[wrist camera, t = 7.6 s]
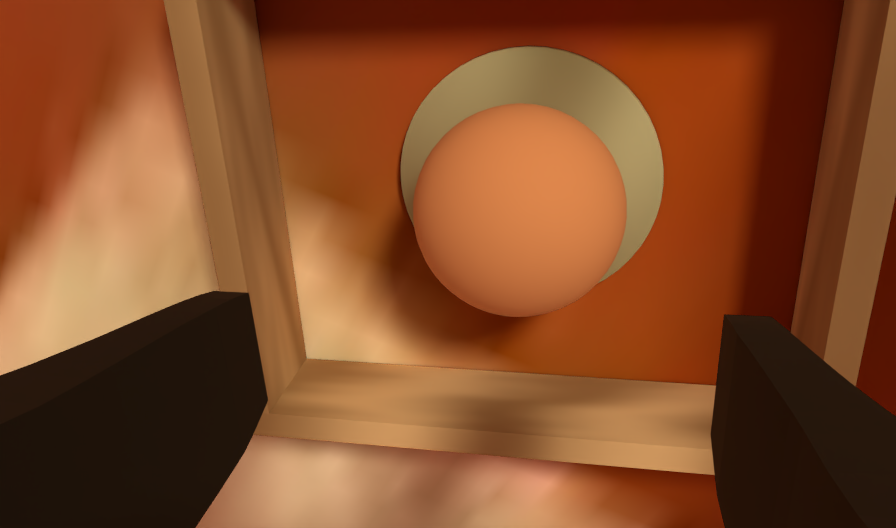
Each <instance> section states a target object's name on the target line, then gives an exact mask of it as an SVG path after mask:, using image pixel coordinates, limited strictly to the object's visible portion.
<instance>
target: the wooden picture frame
mask: <svg viewBox="0 0 896 528" xmlns="http://www.w3.org/2000/svg"><path fill="white" fill-rule="evenodd" d="M164 4H165V10H166V15H167V20H168V25H169V30H170V35H171V41H172V46H173V51H174V56H175V61H176V66H177V72H178V77H179V82H180V87H181V92H182V97H183V103H184V108H185V113H186V118H187V123H188V129H189V134H190V139H191V144H192V149H193V154H194V160H195V165H196V170H197V175H198V180H199V185H200V191H201V196H202V201H203V206H204V211H205V216H206V222H207V227H208V232H209V237H210V242H211V248H212V253H213V258H214V263H215V268H216V273H217V279H218V284H219V289H220V291H224V292H245V293H249V296H250V302H251V307H252V313H253V318H254V324H255V329H256V335H257V341H258V346H259V352H260V357H261V363H262V368H263V374H264V380H265V385H266V391H267V396H268V402H267V404H266V407H265V409H264V411H263V413H262V416H261V418H260V420H259V423H258V425H257V427H256V430H255V432H254V434H253V435H265V436H276V437H287V438H299V439H310V440H321V441H333V442H344V443H356V444H367V445H378V446H390V447H401V448H413V449H424V450H435V451H447V452H458V453H470V454H481V455H492V456H504V457H515V458H526V459H538V460H549V461H561V462H572V463H583V464H595V465H606V466H618V467H629V468H640V469H652V470H663V471H675V472H686V473H697V474H709V475H715V473H714V464H713V454H712V444H711V425H712V416H713V408H714V399H715V390H716V386H714V385H698V384H683V383H668V382H653V381H637V380H622V379H607V378H592V377H576V376H561V375H546V374H531V373H515V372H500V371H485V370H470V369H455V368H439V367H424V366H409V365H394V364H378V363H363V362H348V361H333V360H317V359H306V352H305V345H304V338H303V331H302V324H301V318H300V311H299V304H298V297H297V290H296V283H295V277H294V270H293V263H292V256H291V249H290V242H289V236H288V229H287V222H286V215H285V208H284V201H283V194H282V188H281V181H280V174H279V167H278V160H277V153H276V147H275V140H274V133H273V126H272V119H271V112H270V106H269V99H268V92H267V85H266V78H265V71H264V64H263V58H262V51H261V44H260V37H259V30H258V23H257V17H256V10H255V3H254V0H164ZM517 103H523V104H536V105H541V106H546V107H550V108H553V109H556V110H559V111H561V112H564V113H566V114H568V115H570V116H572V117H574V118H575V119H577V120H578V121H580V122H581V123H583V124H584V125H586V126H587V127H588V128H589V129H590V130H591V131H593V132H594V133H595V134H596V135H597V136H598V137H599V138H600V140H601V141H602V142H603V143H604V144H605V145H606V147H607V148H608V150H609V151H610V153H611V154H612V156H613V158H614V160H615V162H616V164H617V166H618V168H619V171H620V173H621V176H622V180H623V183H624V186H625V193H626V199H627V219H626V226H625V232H624V236H623V239H622V243H621V246H620V248H619V251H618V253H617V255H616V257H615V260H614V261H613V263H612V265H611V266H610V268H609V269H608V271H607V272H606V274H605V275H604V276H603V277H602V278H601V280H600V281H599V282H601V281H603V280H605V279H606V278H608V277H609V276H610V275H612V274H613V273H615V272H616V271H617V270H619V269H620V268H621V267H622V266H623V265H624V264H625V263H626V262H627V261H628V260H630V259H631V257H632V256H633V255H634V254H635V253H636V251H637V250H638V249H639V248H640V247H641V245H642V243H643V242H644V240H645V239H646V237H647V235H648V234H649V232H650V230H651V228H652V226H653V223H654V221H655V219H656V216H657V213H658V210H659V206H660V203H661V197H662V191H663V161H662V154H661V148H660V144H659V141H658V137H657V134H656V130H655V128H654V126H653V124H652V122H651V119H650V117H649V115H648V113H647V112H646V110H645V108H644V107H643V105H642V104H641V102H640V101H639V99H638V98H637V97H636V96H635V94H634V93H633V92H632V91H631V90H630V89H629V87H628V86H627V85H626V84H625V83H623V82H622V81H621V80H620V79H619V78H618V77H617V76H616V75H614V74H613V73H612V72H610V71H609V70H607V69H606V68H604V67H603V66H601V65H600V64H598V63H596V62H594V61H592V60H590V59H588V58H586V57H584V56H582V55H579V54H576V53H573V52H569V51H566V50H562V49H557V48H552V47H545V46H519V47H509V48H505V49H500V50H496V51H492V52H489V53H487V54H484V55H481V56H478V57H476V58H474V59H472V60H470V61H468V62H467V63H465V64H463V65H461V66H459V67H458V68H457V69H455V70H454V71H453V72H451V73H450V74H448V75H447V76H446V77H445V78H444V79H443V80H442V81H441V82H440V83H439V84H438V85H437V86H436V87H434V88H433V89H432V91H431V92H430V93H429V94H428V96H427V97H426V98H425V99H424V101H423V102H422V103H421V105H420V107H419V108H418V110H417V112H416V113H415V115H414V117H413V119H412V121H411V124H410V126H409V129H408V131H407V134H406V138H405V141H404V145H403V149H402V158H401V185H402V192H403V198H404V201H405V205H406V208H407V212H408V214H409V216H410V219H411V221H412V224H413V226H414V221H413V200H414V193H415V188H416V184H417V181H418V177H419V174H420V172H421V169H422V167H423V165H424V163H425V160H426V159H427V157H428V155H429V154H430V152H431V151H432V149H433V148H434V147H435V145H436V144H437V143H438V142H439V141H440V139H441V138H442V137H443V136H444V135H445V134H446V133H447V132H448V131H449V130H451V129H452V128H453V127H454V126H455V125H457V124H458V123H460V122H461V121H463V120H464V119H465V118H467V117H469V116H471V115H473V114H475V113H477V112H480V111H483V110H486V109H489V108H492V107H496V106H501V105H505V104H517ZM895 196H896V0H844V5H843V11H842V18H841V24H840V30H839V36H838V42H837V49H836V55H835V61H834V67H833V73H832V80H831V86H830V92H829V98H828V104H827V111H826V117H825V123H824V129H823V135H822V141H821V148H820V154H819V160H818V166H817V172H816V179H815V185H814V191H813V197H812V203H811V210H810V216H809V222H808V228H807V234H806V241H805V247H804V253H803V259H802V265H801V272H800V278H799V284H798V290H797V296H796V303H795V309H794V315H793V321H792V327H791V333H792V334H793V335H794V336H795V337H796V338H798V339H799V340H800V341H801V342H802V343H803V344H805V345H806V346H807V347H808V348H809V349H811V350H812V351H813V352H814V353H815V354H816V355H818V356H819V357H820V358H821V359H822V360H824V361H825V362H826V363H827V364H828V365H830V366H831V367H832V368H833V369H834V370H836V371H837V372H838V373H839V374H841V375H842V376H843V377H844V378H846V379H847V380H848V381H849V382H850V383H852V384H853V385H854V386H856V382H857V377H858V373H859V368H860V363H861V358H862V354H863V349H864V344H865V339H866V335H867V330H868V325H869V320H870V315H871V311H872V306H873V301H874V296H875V292H876V287H877V282H878V277H879V272H880V268H881V263H882V258H883V253H884V249H885V244H886V239H887V234H888V230H889V225H890V220H891V215H892V210H893V206H894V201H895ZM599 282H598V283H599Z"/></svg>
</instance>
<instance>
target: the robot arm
mask: <svg viewBox="0 0 896 528" xmlns="http://www.w3.org/2000/svg"><path fill="white" fill-rule="evenodd" d="M267 402H268V396H267V391H266V385H265V380H264V374H263V368H262V363H261V357H260V352H259V346H258V341H257V335H256V329H255V324H254V318H253V313H252V307H251V302H250V296H249V293H245V292H224V291H212V292H209V293H205V294H201V295H198V296H195V297H193V298H190V299H187V300H185V301H182V302H179V303H177V304H174V305H172V306H170V307H167V308H165V309H162V310H160V311H158V312H155V313H153V314H151V315H148V316H146V317H144V318H141V319H139V320H137V321H134V322H132V323H130V324H128V325H125V326H123V327H121V328H118V329H116V330H114V331H111V332H109V333H107V334H104V335H102V336H100V337H98V338H95V339H93V340H90V341H88V342H85V343H83V344H80V345H78V346H75V347H73V348H70V349H68V350H65V351H63V352H61V353H58V354H56V355H53V356H51V357H48V358H46V359H43V360H41V361H38V362H36V363H33V364H31V365H28V366H25V367H23V368H20V369H17V370H14V371H12V372H9V373H6V374H3V375H0V528H196V526H197V524H198V523H199V521H200V520H201V518H202V517H203V515H204V514H205V512H206V511H207V509H208V508H209V506H210V505H211V503H212V502H213V500H214V499H215V497H216V496H217V494H218V493H219V491H220V490H221V488H222V487H223V485H224V484H225V482H226V480H227V479H228V477H229V476H230V474H231V473H232V471H233V470H234V468H235V467H236V465H237V463H238V462H239V460H240V459H241V457H242V455H243V454H244V452H245V450H246V448H247V446H248V444H249V442H250V440H251V438H252V436H253V434H254V432H255V430H256V427H257V425H258V423H259V420H260V418H261V416H262V413H263V411H264V409H265V407H266V404H267ZM711 444H712V454H713V464H714V473H715V481H716V490H717V497H718V501H719V505H720V509H721V514H722V518H723V522H724V526H725V528H896V416H894V415H893V414H892V413H890V412H889V411H887V410H886V409H885V408H883V407H882V406H880V405H879V404H878V403H876V402H875V401H874V400H872V399H871V398H870V397H869V396H867V395H866V394H865V393H863V392H862V391H861V390H859V389H858V388H857V387H856V386H854V385H853V384H852V383H850V382H849V381H848V380H847V379H846V378H844V377H843V376H842V375H841V374H839V373H838V372H837V371H836V370H834V369H833V368H832V367H831V366H830V365H828V364H827V363H826V362H825V361H824V360H822V359H821V358H820V357H819V356H818V355H816V354H815V353H814V352H813V351H812V350H811V349H809V348H808V347H807V346H806V345H805V344H803V343H802V342H801V341H800V340H799V339H798V338H796V337H795V336H794V335H793V334H792V333H791V332H789V331H788V330H787V329H786V328H785V327H783V326H782V325H781V324H780V323H778V322H777V321H776V320H774V319H773V318H772V317H768V316H746V315H724V320H723V329H722V338H721V346H720V355H719V364H718V373H717V381H716V390H715V399H714V408H713V416H712V425H711Z"/></svg>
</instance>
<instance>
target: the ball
mask: <svg viewBox="0 0 896 528" xmlns="http://www.w3.org/2000/svg"><path fill="white" fill-rule="evenodd" d="M626 219H627V199H626V193H625V186H624V183H623V180H622V176H621V173H620V171H619V168H618V166H617V164H616V162H615V160H614V158H613V156H612V154H611V153H610V151H609V150H608V148H607V147H606V145H605V144H604V143H603V142H602V141H601V140H600V138H599V137H598V136H597V135H596V134H595V133H594V132H593V131H591V130H590V129H589V128H588V127H587V126H586V125H584V124H583V123H581V122H580V121H578V120H577V119H575V118H574V117H572V116H570V115H568V114H566V113H564V112H561V111H559V110H556V109H553V108H550V107H546V106H541V105H536V104H523V103H517V104H505V105H501V106H496V107H492V108H489V109H486V110H483V111H480V112H477V113H475V114H473V115H471V116H469V117H467V118H465V119H464V120H463V121H461V122H460V123H458V124H457V125H455V126H454V127H453V128H452V129H451V130H449V131H448V132H447V133H446V134H445V135H444V136H443V137H442V138H441V139H440V141H439V142H438V143H437V144H436V145H435V147H434V148H433V149H432V151H431V152H430V154H429V155H428V157H427V159H426V160H425V163H424V165H423V167H422V169H421V172H420V174H419V177H418V181H417V184H416V188H415V193H414V200H413V221H414V229H415V234H416V238H417V241H418V245H419V247H420V249H421V252H422V254H423V257H424V259H425V261H426V263H427V264H428V266H429V268H430V269H431V271H432V272H433V274H434V275H435V276H436V277H437V279H438V280H439V281H440V282H441V283H442V284H443V285H444V286H445V287H446V288H447V289H448V290H449V291H450V292H452V293H453V294H454V295H455V296H457V297H458V298H459V299H461V300H463V301H464V302H466V303H467V304H469V305H471V306H473V307H476V308H478V309H480V310H483V311H486V312H489V313H492V314H497V315H502V316H510V317H529V316H536V315H541V314H545V313H549V312H553V311H555V310H558V309H560V308H563V307H565V306H567V305H569V304H571V303H573V302H575V301H577V300H578V299H579V298H581V297H582V296H584V295H585V294H586V293H588V292H589V291H590V290H591V289H592V288H593V287H594V286H595V285H596V284H597V283H598V282H599V281H600V280H601V278H602V277H603V276H604V275H605V274H606V272H607V271H608V269H609V268H610V266H611V265H612V263H613V261H614V260H615V257H616V255H617V253H618V251H619V248H620V246H621V243H622V239H623V236H624V232H625V226H626Z"/></svg>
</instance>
